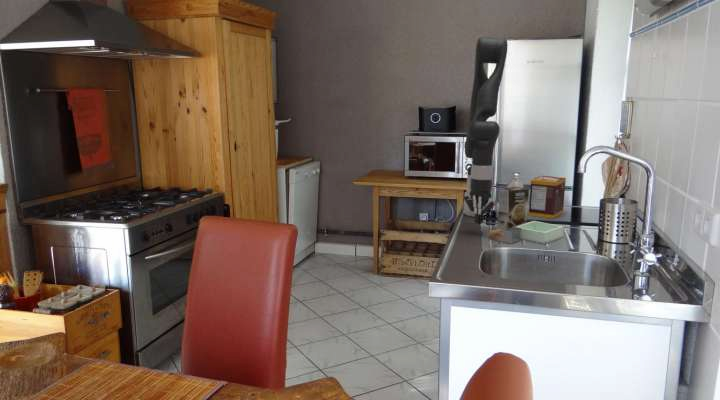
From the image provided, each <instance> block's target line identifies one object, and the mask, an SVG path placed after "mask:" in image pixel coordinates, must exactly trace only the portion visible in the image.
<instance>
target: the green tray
mask: <svg viewBox="0 0 720 400" xmlns="http://www.w3.org/2000/svg"><path fill="white" fill-rule="evenodd" d="M516 227H517V228H521V237H520V240H524V241H527V242H533V243H537V244H542V245H547V244H548V243H551V242H554V241H557V240H559V239H561V238H563V236H564V226H563V225H559V224H552V223H547V222H541V221H536V220H532V221H529V222H527V223H525V224H522V225H519V226H516Z"/></svg>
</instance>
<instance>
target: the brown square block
mask: <svg viewBox="0 0 720 400" xmlns="http://www.w3.org/2000/svg"><path fill="white" fill-rule="evenodd" d="M488 240H491V241H497V242H500V243H504V242H503V241H504V230H502V229H497V228H496V229H492V230H489V231H488Z"/></svg>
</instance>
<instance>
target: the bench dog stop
mask: <svg viewBox="0 0 720 400" xmlns="http://www.w3.org/2000/svg"><path fill="white" fill-rule="evenodd" d="M520 237H521V228H517V227H511V228H508V229H505V230H504V241H503V242H502V243H505V244H510V245H513V244H515V243H519V242H520V241H521V239H520Z"/></svg>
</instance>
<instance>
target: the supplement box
mask: <svg viewBox="0 0 720 400" xmlns="http://www.w3.org/2000/svg"><path fill="white" fill-rule="evenodd" d="M566 180H567V177H565V176H564V177H561V176H551V175H550V176H549V175H539V176H537V177H535V178H532V179H531V180H530V188H529V202H528V205H529V206H528V216H529V217H537V218H544V219H551V220H553V219H555V218H556V217H558V216H560V215H562V214H563V213H564V202H565V191H566V182H567V181H566Z"/></svg>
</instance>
